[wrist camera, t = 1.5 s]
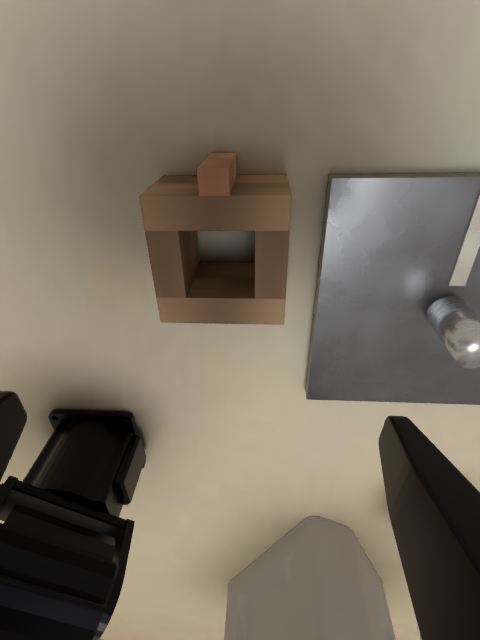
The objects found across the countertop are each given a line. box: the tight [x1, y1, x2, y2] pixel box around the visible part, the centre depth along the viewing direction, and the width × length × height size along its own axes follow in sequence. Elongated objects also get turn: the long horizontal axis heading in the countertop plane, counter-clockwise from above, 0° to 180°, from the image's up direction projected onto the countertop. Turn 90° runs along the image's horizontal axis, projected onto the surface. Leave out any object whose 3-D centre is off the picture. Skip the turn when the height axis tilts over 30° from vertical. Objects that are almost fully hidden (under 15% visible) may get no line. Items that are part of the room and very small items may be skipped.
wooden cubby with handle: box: [139, 152, 291, 325], centre depth 17 cm, size 6×7×4 cm
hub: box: [305, 173, 480, 405], centre depth 18 cm, size 14×14×4 cm
